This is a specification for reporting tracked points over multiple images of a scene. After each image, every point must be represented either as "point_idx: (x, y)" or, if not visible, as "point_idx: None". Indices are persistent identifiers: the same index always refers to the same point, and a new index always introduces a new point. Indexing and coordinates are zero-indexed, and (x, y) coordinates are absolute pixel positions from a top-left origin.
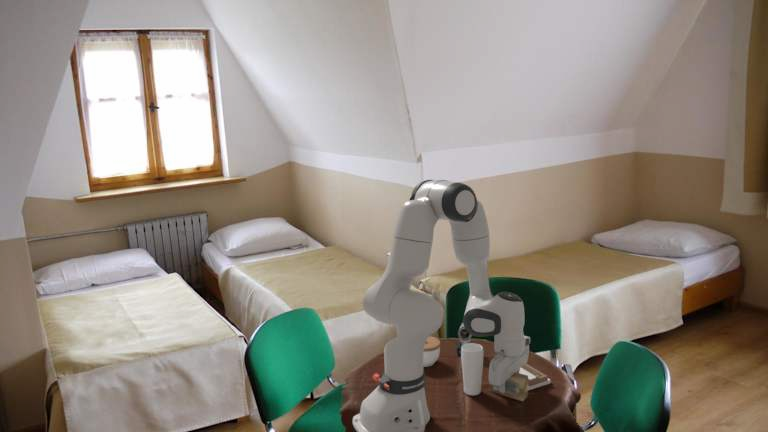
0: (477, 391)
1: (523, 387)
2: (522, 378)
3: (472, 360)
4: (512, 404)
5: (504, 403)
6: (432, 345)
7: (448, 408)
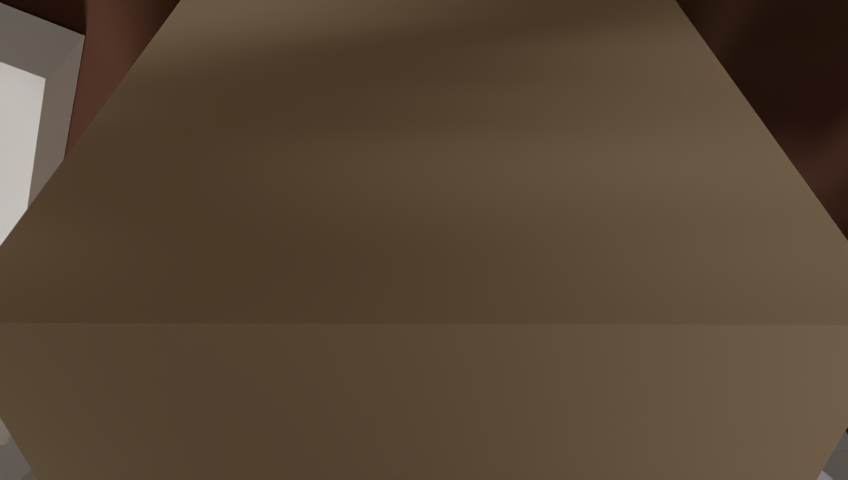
0: None
1: (654, 39)
2: (603, 430)
3: None
4: (833, 27)
5: (835, 174)
6: None
7: None
